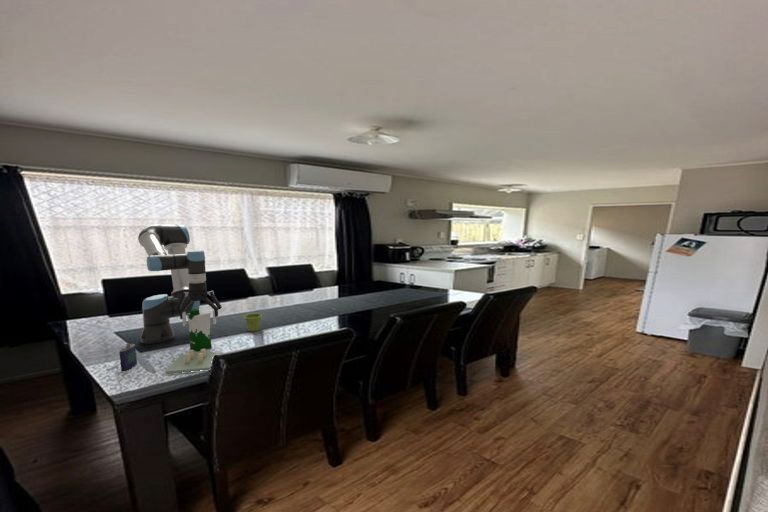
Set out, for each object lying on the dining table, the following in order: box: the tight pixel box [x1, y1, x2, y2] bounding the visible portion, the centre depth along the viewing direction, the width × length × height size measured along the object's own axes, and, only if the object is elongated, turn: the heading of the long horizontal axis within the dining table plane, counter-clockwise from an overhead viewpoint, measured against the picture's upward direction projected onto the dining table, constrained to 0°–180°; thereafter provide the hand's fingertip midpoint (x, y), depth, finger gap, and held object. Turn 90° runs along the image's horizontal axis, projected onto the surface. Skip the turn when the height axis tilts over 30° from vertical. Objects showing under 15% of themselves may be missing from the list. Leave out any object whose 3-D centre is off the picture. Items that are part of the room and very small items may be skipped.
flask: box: [118, 343, 138, 372], centre depth 147 cm, size 9×3×11 cm, turn 8°
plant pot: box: [244, 313, 263, 333], centre depth 198 cm, size 9×9×9 cm
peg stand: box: [165, 349, 223, 375], centre depth 151 cm, size 18×18×6 cm
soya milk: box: [186, 308, 212, 353], centre depth 169 cm, size 9×9×20 cm
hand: (199, 324), depth 168 cm, fingers open, 13 cm apart
